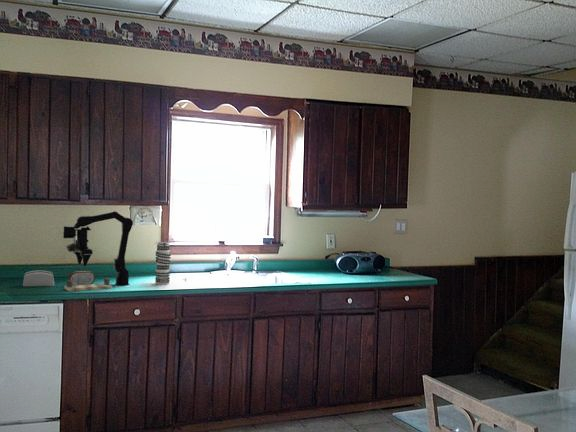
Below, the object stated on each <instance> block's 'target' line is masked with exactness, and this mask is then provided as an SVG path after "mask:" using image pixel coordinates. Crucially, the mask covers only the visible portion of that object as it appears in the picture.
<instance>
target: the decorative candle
mask: <svg viewBox="0 0 576 432" xmlns="http://www.w3.org/2000/svg"><path fill="white" fill-rule="evenodd" d="M170 248H171V244H170V243H169V242H168V241H160V242H158V243H157V244H156V251H155V256H156V257H155V265H156V269H155V281H154V282H155V285H159V286H161V285H163V286H164V285H170V279H171V278H170V276H171V275H170V274H171V272H170V266H171V260H170V259H171V255H172V254H171V249H170Z"/></svg>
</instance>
